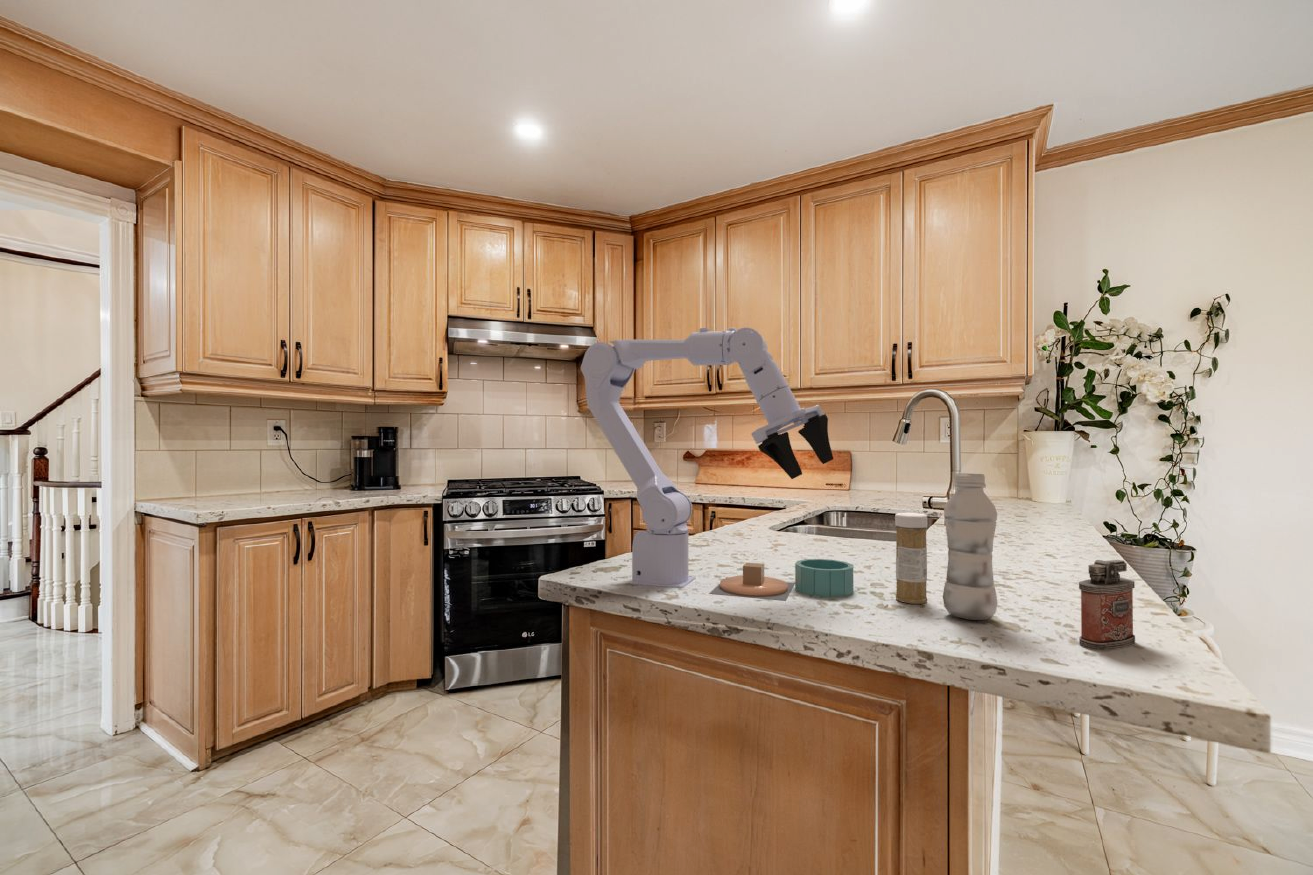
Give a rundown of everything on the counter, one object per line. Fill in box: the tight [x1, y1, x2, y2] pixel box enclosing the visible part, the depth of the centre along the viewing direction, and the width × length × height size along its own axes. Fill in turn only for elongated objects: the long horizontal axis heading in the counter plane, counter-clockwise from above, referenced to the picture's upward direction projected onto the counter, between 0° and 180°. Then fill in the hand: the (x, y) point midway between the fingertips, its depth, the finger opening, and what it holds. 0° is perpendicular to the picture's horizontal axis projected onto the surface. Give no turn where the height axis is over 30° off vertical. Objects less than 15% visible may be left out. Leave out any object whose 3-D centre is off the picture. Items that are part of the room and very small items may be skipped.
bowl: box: [794, 558, 854, 598], centre depth 95 cm, size 9×9×4 cm
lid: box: [719, 562, 788, 597], centre depth 96 cm, size 11×11×4 cm
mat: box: [708, 576, 795, 602], centre depth 96 cm, size 12×12×1 cm
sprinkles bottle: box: [894, 512, 928, 605], centre depth 90 cm, size 5×5×14 cm
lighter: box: [1078, 559, 1136, 652], centre depth 70 cm, size 8×3×10 cm, turn 114°
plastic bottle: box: [942, 472, 998, 621], centre depth 81 cm, size 6×7×20 cm
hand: (813, 469), depth 93 cm, fingers open, 7 cm apart
